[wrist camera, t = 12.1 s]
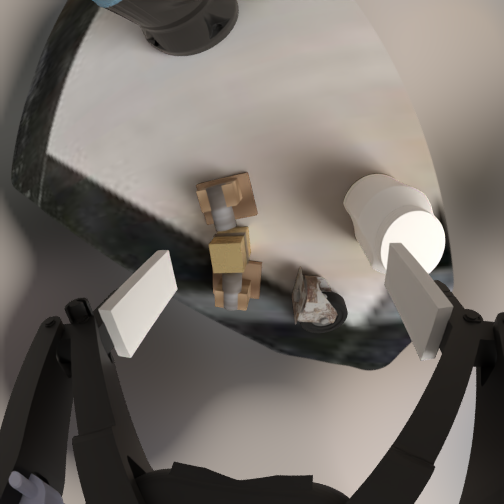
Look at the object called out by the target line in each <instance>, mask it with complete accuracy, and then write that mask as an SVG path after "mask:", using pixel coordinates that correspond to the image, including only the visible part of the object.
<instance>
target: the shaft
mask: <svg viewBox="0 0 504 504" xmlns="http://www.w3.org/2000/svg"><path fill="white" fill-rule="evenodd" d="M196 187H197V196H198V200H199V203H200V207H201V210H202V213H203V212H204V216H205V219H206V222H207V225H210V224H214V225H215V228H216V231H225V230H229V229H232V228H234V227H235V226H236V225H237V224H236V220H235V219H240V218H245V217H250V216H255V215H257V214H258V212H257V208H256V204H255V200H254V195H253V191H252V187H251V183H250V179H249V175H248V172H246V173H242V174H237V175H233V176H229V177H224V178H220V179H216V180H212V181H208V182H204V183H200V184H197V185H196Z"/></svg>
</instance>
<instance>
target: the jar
mask: <svg viewBox="0 0 504 504" xmlns="http://www.w3.org/2000/svg"><path fill="white" fill-rule="evenodd" d="M343 204H344V207H345V209H346V211H347V212H348V213H349V215H350V217H351V219H352V221H353V225H354V230H355V237H356V240H357V242H358V243H359V244H360V246H361V248H362V249H363V251H364V253H365V255H366V257H367V258H368V260H369V262H370V265H371V267H372V268H373V269H374V270H376V271H378V272H381V273H384V274H386V270H387V262H388V253H389V243H402V244H403V245H404V246H405V248H406V249H407V250H408V251H409V252H410V253H411V254H412V256H413V257H414V258H415V259H416V260H417V261H418V262H419V264H420V265H421V266H422V267H423V268H424V270H425V271H426V272H427V273H428V274H429V273H430V272H431V271H432V270H433V269H434V268H435V267H436V265H437V264H438V263H439V261H440V259H441V257H442V254H443V251H444V247H445V234H444V230H443V227H442V225H441V223H440V222H439V220H438V219H437V218H436V217H435V216H434V214H433V211H432V207H431V204H430V202H429V200H428V198H427V197H426V195H425V194H424V193H423V192H421V191H420V190H418V189H416V188H414V187H411V186H408V185H406V184H404V183H402V182H400V181H398V180H396V179H395V178H393V177H390V176H388V175H384V174H371V175H368V176H365V177H363V178H361V179H359V180H358V181H356V182H355V183H354V184H353V185H352V186H351V188H350V189H349V190H348V192H347V194H346V196H345V198H344V202H343Z"/></svg>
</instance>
